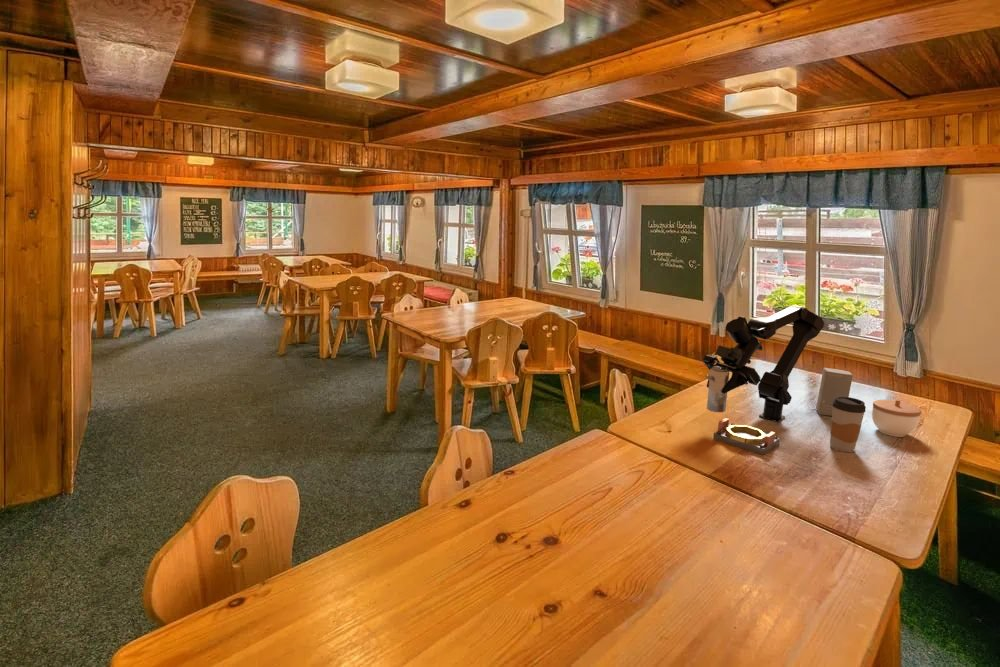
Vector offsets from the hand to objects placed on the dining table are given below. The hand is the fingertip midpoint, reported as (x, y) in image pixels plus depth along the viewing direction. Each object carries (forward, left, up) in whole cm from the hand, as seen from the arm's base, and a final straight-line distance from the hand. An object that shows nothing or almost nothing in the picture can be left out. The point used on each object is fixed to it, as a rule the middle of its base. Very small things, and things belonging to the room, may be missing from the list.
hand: (715, 390), depth 168 cm
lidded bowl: (-46, +39, -14) cm, 62 cm away
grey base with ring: (-1, +11, -14) cm, 18 cm away
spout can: (0, 0, -7) cm, 7 cm away
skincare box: (-50, +20, -14) cm, 55 cm away
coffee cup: (-19, +32, -14) cm, 40 cm away
